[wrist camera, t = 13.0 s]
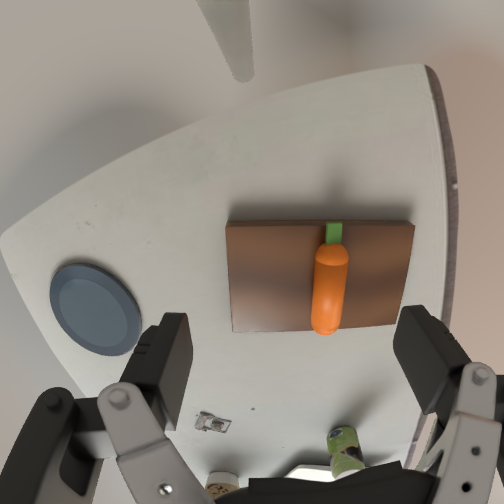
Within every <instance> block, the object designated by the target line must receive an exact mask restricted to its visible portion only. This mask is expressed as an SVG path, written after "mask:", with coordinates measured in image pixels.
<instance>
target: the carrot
mask: <svg viewBox="0 0 504 504" xmlns="http://www.w3.org/2000/svg"><path fill="white" fill-rule="evenodd" d="M341 237H342V222H341V221H336V222H326V240H325V243H324V244H322V245H321V246H320V247H319V248H318V250H317V252H316V256H315V270H314V284H313V297H312V309H311V326H312V328H313V330H314V331H315V332H317V333H318V334H321V335H330V334H332V333H334V332H335V331H336V330H337V329H338V327H339V325H340V321H341V315H342V308H343V301H344V294H345V286H346V278H347V269H348V260H349V257H348V252H347V250H346V249H345V247H344V246H343V245H342V244H341Z"/></svg>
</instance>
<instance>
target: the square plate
mask: <svg viewBox="0 0 504 504" xmlns="http://www.w3.org/2000/svg"><path fill="white" fill-rule="evenodd" d="M365 468H368V467H365ZM284 477H290V478H297V479H305V480H313V481H322V482H331V481H335V480H336V479H334V478H333V477H332V473H331V466H321V465H298V466H297V467H295V468H294V469H293V470H291V471H290V472H289V473H288V474H287V475H286V476H284Z"/></svg>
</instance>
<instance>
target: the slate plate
mask: <svg viewBox="0 0 504 504" xmlns="http://www.w3.org/2000/svg"><path fill="white" fill-rule="evenodd" d="M50 302H51V307H52V310H53V313H54V315H55V317H56V319H57V321H58V323H59V324H60V326H61V327H62V328H63V330H64V331H65V332H66V333H67V334H68V335H69V336H70V337H71V338H72V339H73V340H74V341H75V342H76V343H78V344H79V345H81V346H82V347H84V348H85V349H87V350H89V351H91V352H94V353H97V354H100V355H105V356H119V355H123V354H125V353H127V352H129V351H131V350H132V349H133V348H134V347H135V345H136V344H137V342H138V340H139V338H140V335H141V331H142V320H141V315H140V312H139V309H138V306H137V304H136V302H135V300H134V299H133V297H132V295H131V294H130V293H129V291H128V290H127V289H126V288H125V286H124V285H123V284H122V283H121V282H120V281H119V280H118V279H116V278H115V277H114V276H112V275H111V274H110V273H108V272H106V271H105V270H103V269H101V268H99V267H96V266H93V265H90V264H84V263H76V264H71V265H68V266H66V267H64V268H62V269H61V270H60V271H59V272H58V273H57V274H56V275H55V277H54V278H53V280H52V283H51V286H50Z"/></svg>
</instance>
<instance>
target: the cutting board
mask: <svg viewBox="0 0 504 504" xmlns="http://www.w3.org/2000/svg"><path fill="white" fill-rule="evenodd" d="M336 221H341V222H342V237H341V244H342V245H343V246H344V247H345V249H346V250H347V252H348V257H349V260H348V269H347V278H346V286H345V294H344V301H343V308H342V315H341V321H340V325H339V327H338V329H346V328H359V327H371V326H382V325H392V324H396V320H397V316H398V312H399V308H400V304H401V300H402V295H403V291H404V286H405V281H406V277H407V272H408V266H409V261H410V256H411V250H412V244H413V237H414V231H415V225H413V224H412V223H410V222H409V221H386V220H271V221H228V222H227V224H226V227H225V228H226V245H227V261H228V276H229V290H230V304H231V317H232V330H233V332H286V331H312V330H313V328H312V326H311V309H312V297H313V284H314V270H315V256H316V252H317V250H318V248H319V247H320V246H321V245H322V244H324V243H325V240H326V222H336Z"/></svg>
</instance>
